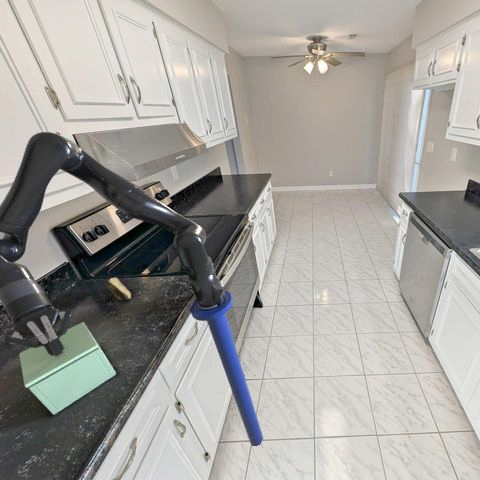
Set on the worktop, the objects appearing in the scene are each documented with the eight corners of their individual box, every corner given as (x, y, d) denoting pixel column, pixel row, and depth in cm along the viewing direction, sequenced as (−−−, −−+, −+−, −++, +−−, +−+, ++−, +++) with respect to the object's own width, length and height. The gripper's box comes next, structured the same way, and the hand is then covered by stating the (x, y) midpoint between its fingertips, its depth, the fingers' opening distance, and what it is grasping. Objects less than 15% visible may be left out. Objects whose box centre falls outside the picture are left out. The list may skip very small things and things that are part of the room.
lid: (98, 347, 69) (97, 344, 69) (26, 387, 59) (24, 385, 59) (84, 323, 79) (83, 321, 79) (20, 355, 69) (19, 353, 69)
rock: (112, 285, 112) (97, 296, 103) (119, 269, 111) (105, 280, 102) (137, 294, 116) (126, 306, 106) (145, 279, 114) (134, 290, 105)
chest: (116, 374, 75) (99, 348, 70) (53, 415, 65) (28, 388, 60) (100, 348, 84) (84, 323, 79) (43, 380, 74) (20, 355, 69)
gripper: (-19, 311, 60) (17, 371, 59) (54, 282, 69) (88, 334, 68) (-6, 318, 66) (28, 374, 64) (61, 291, 75) (92, 339, 73)
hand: (59, 353), depth 66 cm, fingers closed
